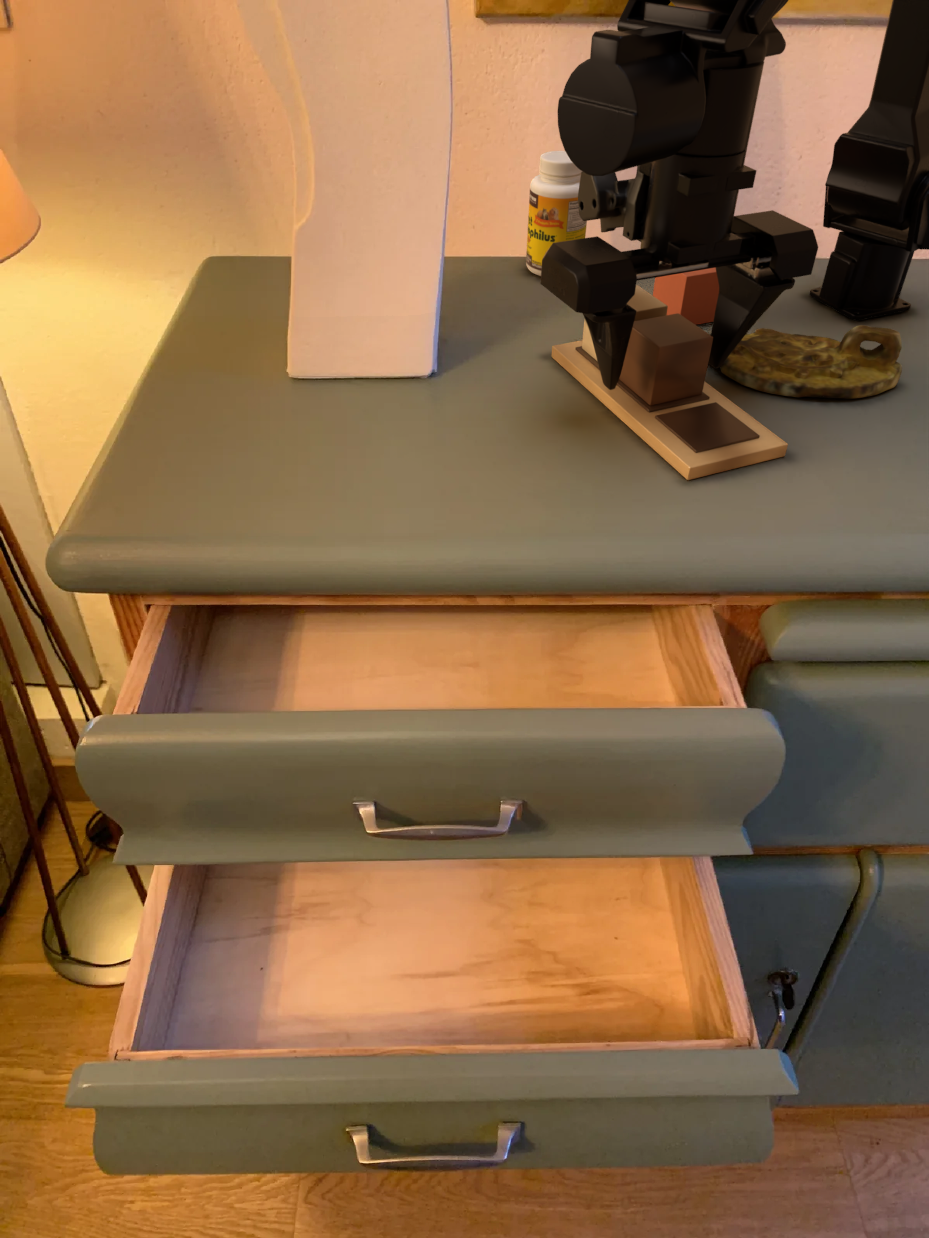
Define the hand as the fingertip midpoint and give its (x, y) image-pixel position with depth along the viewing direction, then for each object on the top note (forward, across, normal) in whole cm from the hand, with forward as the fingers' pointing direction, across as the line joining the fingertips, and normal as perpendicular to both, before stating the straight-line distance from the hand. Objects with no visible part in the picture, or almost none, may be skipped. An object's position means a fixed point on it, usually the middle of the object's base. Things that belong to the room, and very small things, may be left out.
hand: (662, 376), depth 66 cm
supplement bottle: (+2, -5, -27) cm, 28 cm away
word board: (+2, 0, 0) cm, 2 cm away
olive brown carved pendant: (+2, -13, 0) cm, 13 cm away
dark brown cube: (+1, 0, 0) cm, 1 cm away
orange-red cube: (+2, -11, -13) cm, 17 cm away
